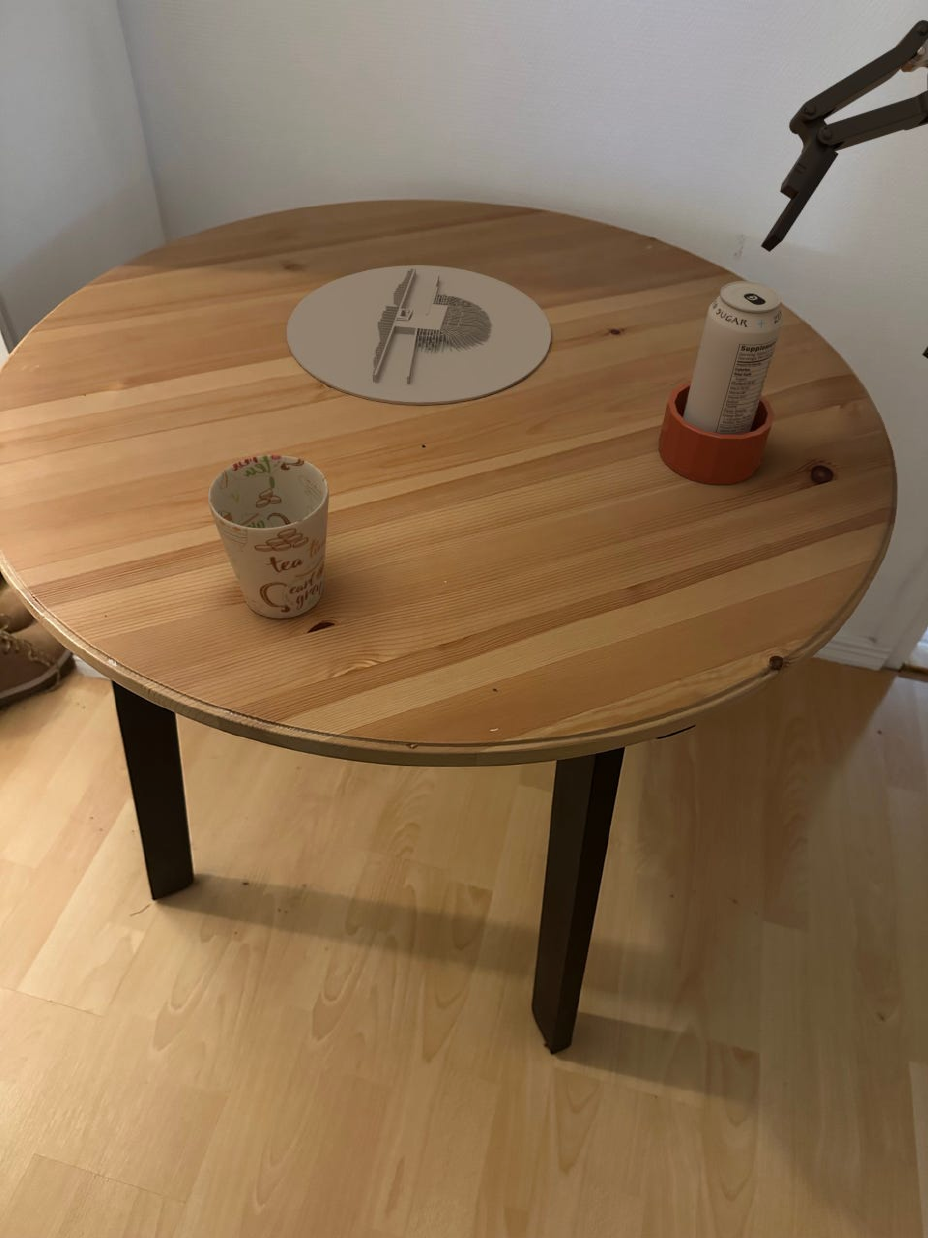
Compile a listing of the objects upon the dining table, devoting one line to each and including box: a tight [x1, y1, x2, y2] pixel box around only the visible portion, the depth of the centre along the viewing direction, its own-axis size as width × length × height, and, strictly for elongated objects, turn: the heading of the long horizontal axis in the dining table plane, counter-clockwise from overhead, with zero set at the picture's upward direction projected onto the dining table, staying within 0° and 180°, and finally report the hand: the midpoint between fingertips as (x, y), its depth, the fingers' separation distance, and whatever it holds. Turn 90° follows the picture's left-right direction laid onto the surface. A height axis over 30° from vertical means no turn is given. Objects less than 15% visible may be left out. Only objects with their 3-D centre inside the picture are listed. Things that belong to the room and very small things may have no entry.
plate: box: [286, 264, 552, 406], centre depth 101 cm, size 28×28×1 cm
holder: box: [658, 380, 775, 486], centre depth 86 cm, size 9×9×5 cm
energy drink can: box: [683, 280, 784, 435], centre depth 82 cm, size 6×6×15 cm
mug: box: [207, 454, 330, 620], centre depth 72 cm, size 8×13×10 cm, turn 14°
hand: (853, 299), depth 65 cm, fingers open, 13 cm apart
